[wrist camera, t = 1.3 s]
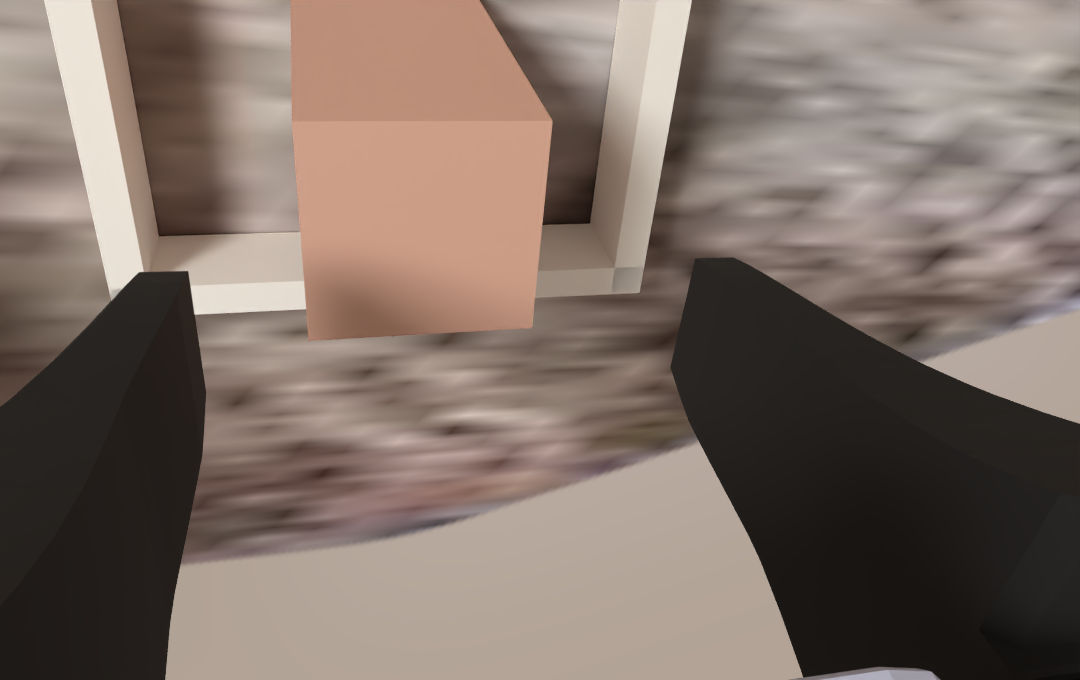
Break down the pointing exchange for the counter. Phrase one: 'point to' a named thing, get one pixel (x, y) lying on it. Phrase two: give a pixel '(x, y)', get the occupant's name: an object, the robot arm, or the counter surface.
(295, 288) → the shelf bay
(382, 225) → the plain salmon-coloured rectangular block
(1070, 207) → the counter surface
